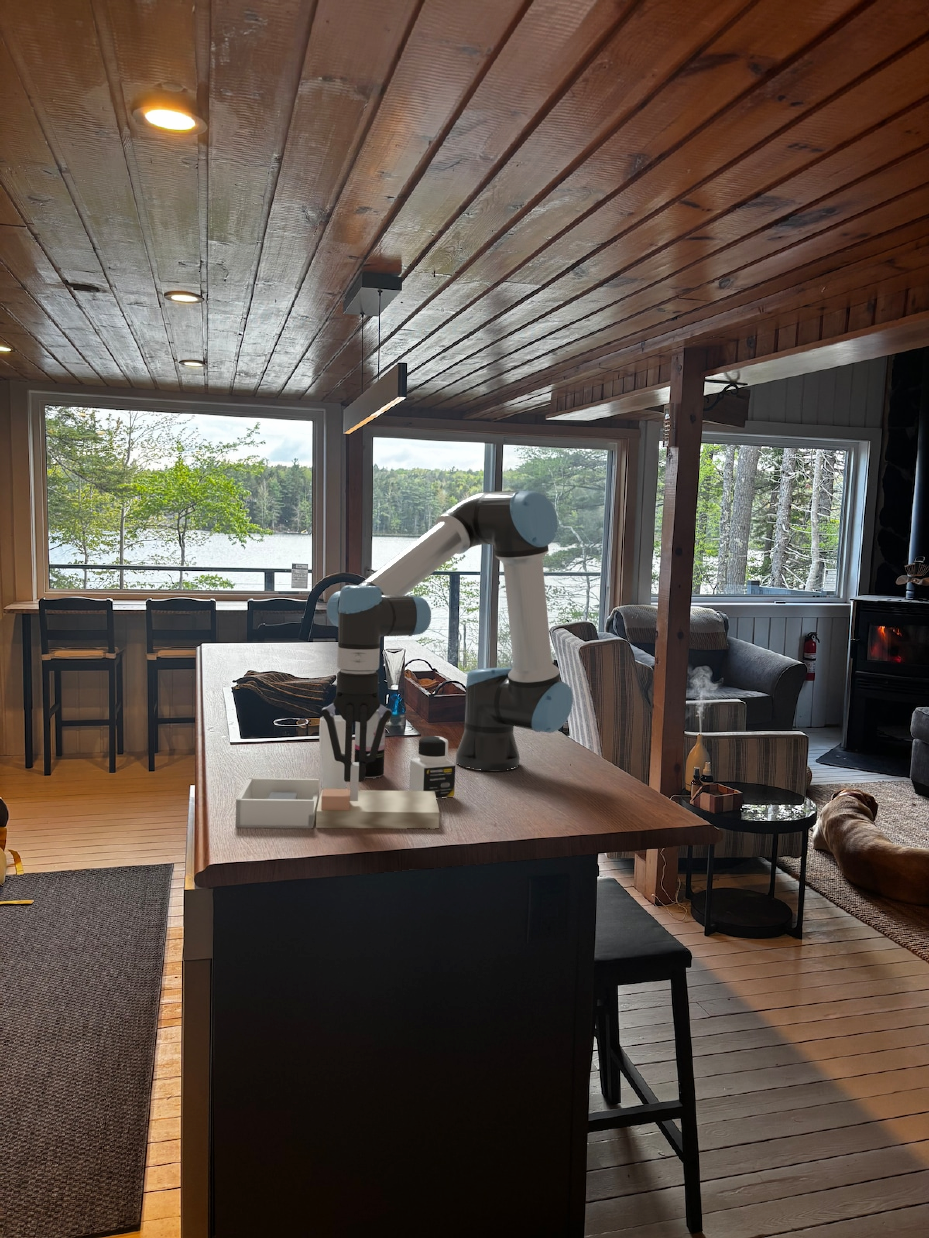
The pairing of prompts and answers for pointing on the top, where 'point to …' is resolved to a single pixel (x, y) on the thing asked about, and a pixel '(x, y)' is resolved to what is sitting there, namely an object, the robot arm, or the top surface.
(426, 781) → the medicine bottle
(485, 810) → the top surface
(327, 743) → the white cylinder
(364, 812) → the board
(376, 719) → the beverage can
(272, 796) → the slate tile
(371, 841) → the top surface
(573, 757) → the top surface
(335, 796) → the terracotta tile
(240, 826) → the tray
